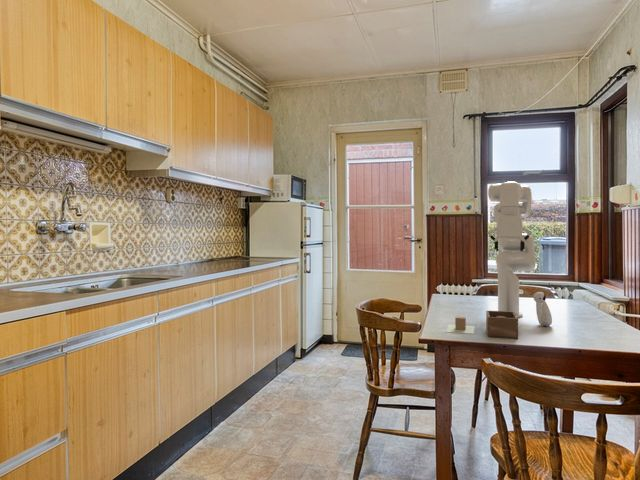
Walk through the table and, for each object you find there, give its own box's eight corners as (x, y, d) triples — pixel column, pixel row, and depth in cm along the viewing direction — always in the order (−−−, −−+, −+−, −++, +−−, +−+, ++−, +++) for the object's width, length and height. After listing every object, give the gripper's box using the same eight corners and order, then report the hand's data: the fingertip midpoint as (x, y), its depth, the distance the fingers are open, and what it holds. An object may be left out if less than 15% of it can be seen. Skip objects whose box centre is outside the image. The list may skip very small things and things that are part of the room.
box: (486, 329, 183) (486, 310, 183) (514, 330, 180) (514, 311, 179) (487, 337, 170) (487, 317, 170) (518, 339, 166) (518, 318, 166)
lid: (448, 326, 192) (448, 313, 192) (474, 328, 188) (474, 314, 188) (446, 333, 179) (445, 319, 179) (473, 335, 175) (473, 321, 175)
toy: (555, 329, 182) (555, 293, 181) (537, 328, 183) (537, 293, 183) (547, 323, 193) (547, 290, 192) (530, 322, 194) (530, 289, 194)
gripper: (488, 211, 183) (488, 251, 183) (532, 210, 177) (532, 251, 178) (487, 211, 190) (487, 250, 190) (530, 210, 184) (530, 250, 185)
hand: (509, 250), depth 184 cm, fingers open, 9 cm apart
